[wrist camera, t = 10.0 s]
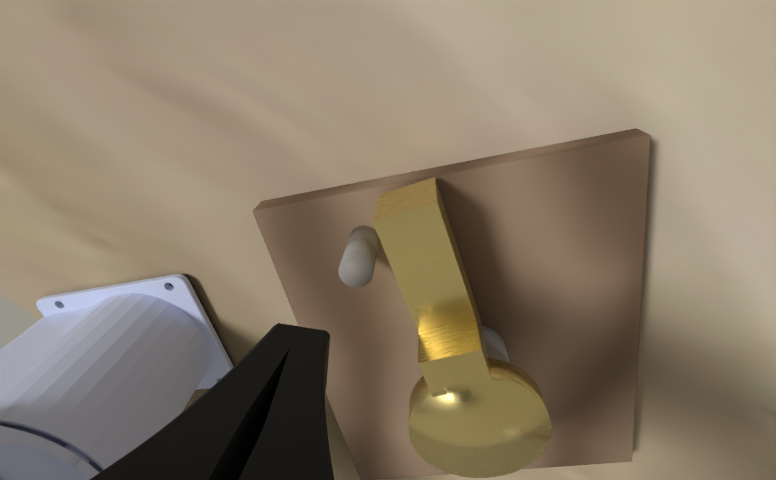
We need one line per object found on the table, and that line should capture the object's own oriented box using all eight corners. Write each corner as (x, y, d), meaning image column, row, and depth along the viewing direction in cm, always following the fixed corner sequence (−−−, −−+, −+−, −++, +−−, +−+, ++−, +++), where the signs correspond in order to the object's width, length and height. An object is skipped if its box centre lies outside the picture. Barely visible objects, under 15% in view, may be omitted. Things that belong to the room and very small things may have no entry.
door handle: (537, 385, 22) (563, 466, 18) (430, 406, 24) (432, 485, 19) (476, 163, 17) (493, 207, 13) (342, 206, 18) (319, 258, 14)
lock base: (363, 463, 29) (353, 532, 25) (261, 201, 20) (222, 243, 16) (623, 443, 26) (658, 517, 22) (636, 128, 17) (698, 158, 13)
